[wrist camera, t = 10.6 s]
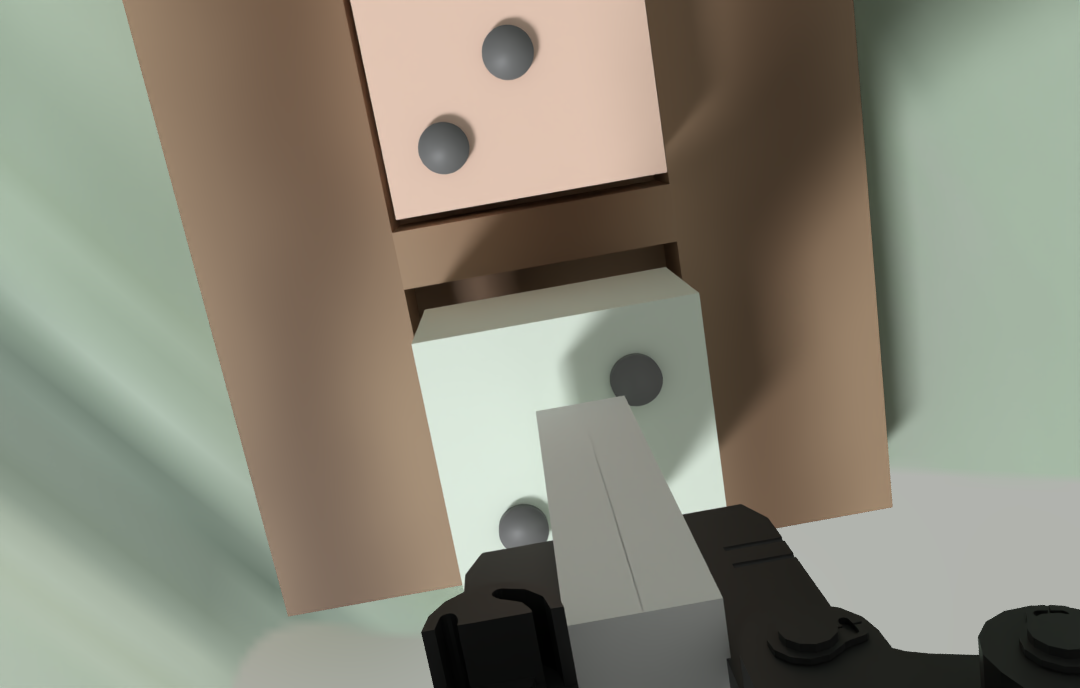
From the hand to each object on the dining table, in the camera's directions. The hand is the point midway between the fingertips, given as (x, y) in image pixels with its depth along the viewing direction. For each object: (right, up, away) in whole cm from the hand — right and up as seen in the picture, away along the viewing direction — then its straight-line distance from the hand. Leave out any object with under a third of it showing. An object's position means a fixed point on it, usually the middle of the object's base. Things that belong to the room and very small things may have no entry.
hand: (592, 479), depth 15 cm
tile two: (0, +1, +4) cm, 4 cm away
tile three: (-2, +8, +3) cm, 9 cm away
